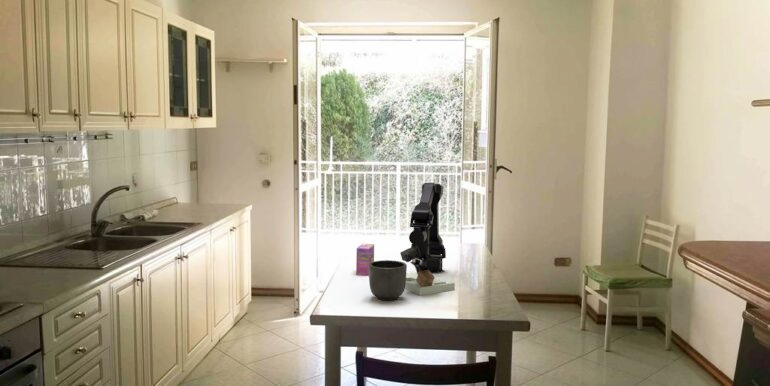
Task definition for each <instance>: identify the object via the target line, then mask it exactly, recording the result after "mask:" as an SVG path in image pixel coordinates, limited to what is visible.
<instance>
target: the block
mask: <svg viewBox="0 0 770 386" xmlns="http://www.w3.org/2000/svg"><path fill="white" fill-rule="evenodd" d="M433 274H434V273H431V272H430V271H429V270H423V271H419V273H418V276H417V279H416V281H417V282H418V283H419V285H420V286H421V287H425V286H432V283H433V280H434V277H435V276H434V275H433Z"/></svg>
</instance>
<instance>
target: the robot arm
mask: <svg viewBox="0 0 770 386" xmlns="http://www.w3.org/2000/svg"><path fill="white" fill-rule="evenodd" d="M443 194H444V186H443V185H441V183H435V182H423V184H421V197H420V199H419V203H418V204H417V205H415V206H414V208H413V210H412V212H411V215H410V222H409V228H413V230H412V231H411V232H410V233H409V235H408V239H409V242H410V243H411V245H410V248H406V249H404V250H403V251H401V252H400V253H399V254H400V257H401V260H402V262H403V261H404V262H406V263H410V264H411V265H412V266H413V267H414V268H415V271H416V272H417V275H418V273H419V271H423V270H429V271H430V272H431V273H432V274H436V273H437V274H438V273H442V272H443V273H444V272H445V269H443V260H444V259H447V257H446V256H447V251H446V248H445V245H444V243H443V238H442V237H441V235H440V228H439V227H440V225H439V221H440V219H439V216H440V215H439V203H440V201H441V199H442V197H443Z"/></svg>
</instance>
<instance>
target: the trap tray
mask: <svg viewBox="0 0 770 386" xmlns="http://www.w3.org/2000/svg"><path fill="white" fill-rule="evenodd" d="M417 276H418V275H417V271H416V272H415V271H414V272H408V273H407V272H406V284H405V290H407V291H409V292H411V293H413V294H416V295H419V296H425V295H431V294H437V293H444V292H451V291H455V290H456V289H455V288H456V287H455V286H456V283H455V282H448V283H447V282H446V280H443V279H440V278H437V277H435V276H434V280H433V283H432V286H425V287H421V286H420V285H419V283H418V282H417V281H416V279H417Z"/></svg>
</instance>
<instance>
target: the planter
mask: <svg viewBox="0 0 770 386" xmlns="http://www.w3.org/2000/svg"><path fill="white" fill-rule="evenodd" d="M407 267H408V266H407V263H405V261H404V262H403V261H400V260H388V259H384V260H383V259H382V260H374V262H371V263H370V264H369V276H368V281H369V289H370V292H371V294H372V295H373V296H374V297H375V298H376V300H377V301H381V302H394V301H398V299H399V298H400V297H401V296H403V293H405V292H404V291H405V290H406V289H405V284H406V274H407V271H408V270H407Z"/></svg>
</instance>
